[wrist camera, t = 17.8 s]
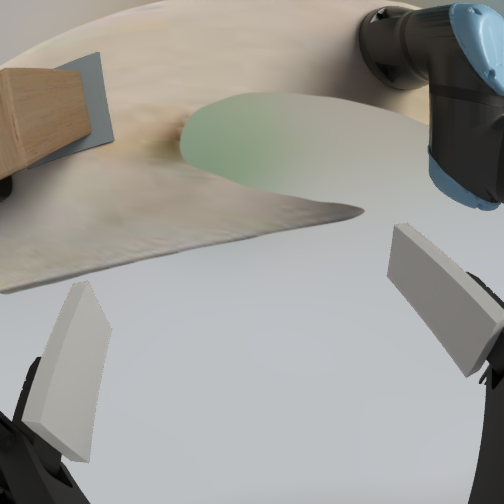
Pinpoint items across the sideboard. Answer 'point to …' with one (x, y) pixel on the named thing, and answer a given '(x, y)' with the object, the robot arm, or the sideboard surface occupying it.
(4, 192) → the black rounded block
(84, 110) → the wooden block
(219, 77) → the sideboard surface
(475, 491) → the robot arm
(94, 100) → the mat
